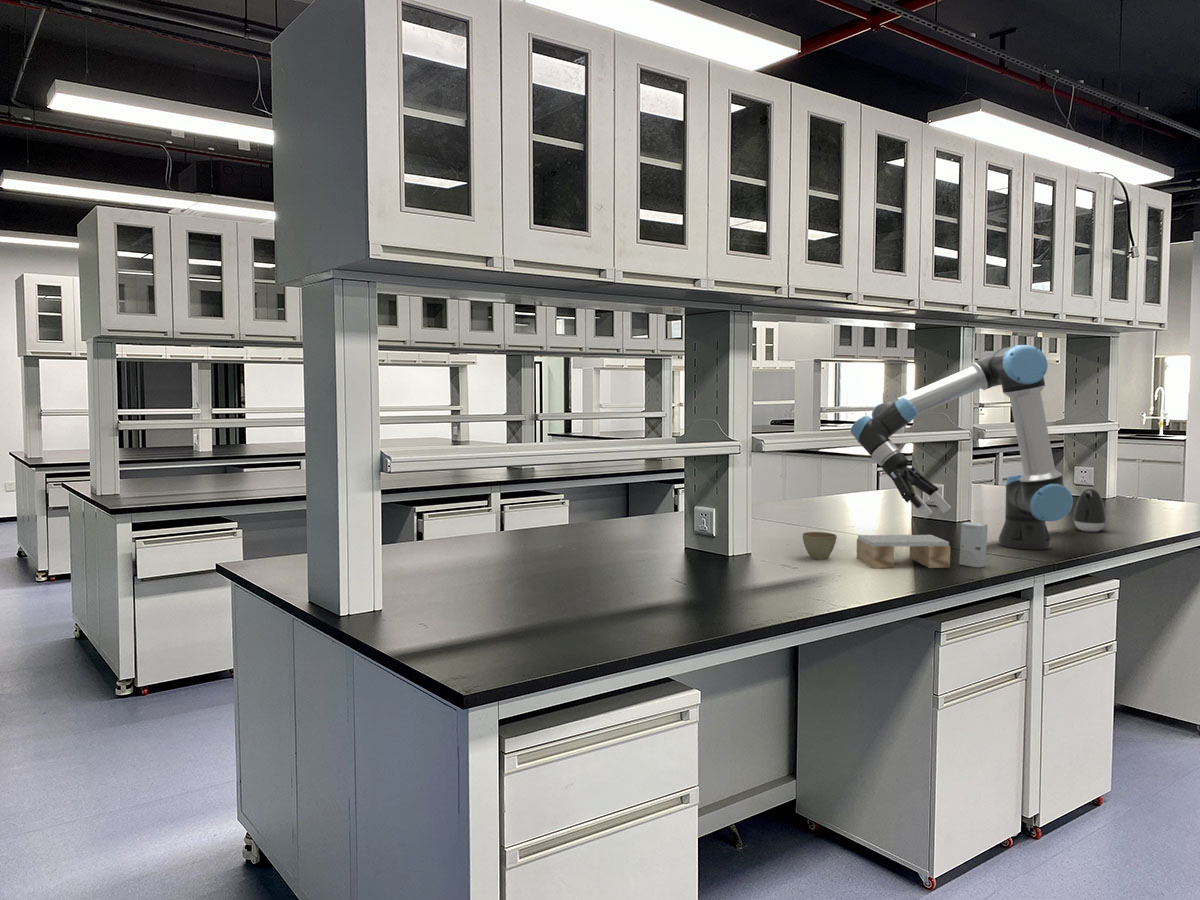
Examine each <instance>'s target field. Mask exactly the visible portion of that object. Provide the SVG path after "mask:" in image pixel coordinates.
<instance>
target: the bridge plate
mask: <svg viewBox="0 0 1200 900" xmlns="http://www.w3.org/2000/svg"><path fill="white" fill-rule="evenodd" d="M857 539H859V540H860V541H862V542H864V543H866V544H868V545H870V546H872V547H877V546H893V547H910V546H950V542H949V541H947V540H945V539H943V538H940V537H937V536H935V535H933V534H888V535H887V534H871V535H870V534H869V535H868V534H862V535H861V534H858V536H857Z"/></svg>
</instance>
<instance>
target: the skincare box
mask: <svg viewBox="0 0 1200 900" xmlns="http://www.w3.org/2000/svg"><path fill="white" fill-rule="evenodd" d="M988 528H989V525H988V524H985V523H980V522H979V523H978V522H969V521H966V522H962V523H961V525H960V542H959V543H960V546H959V562H958V564H959V565H961V566H967V567H972V568H982V567H986V563H987V561H986V560H987V541H988Z"/></svg>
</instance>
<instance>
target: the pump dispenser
mask: <svg viewBox="0 0 1200 900" xmlns="http://www.w3.org/2000/svg"><path fill="white" fill-rule="evenodd" d="M1072 519H1073V522H1074V525H1075V526H1076V529H1078V530H1080V531H1082V532H1088V533H1089V532H1090V533H1096V532H1099V531H1101V530H1102V529H1103V528H1104V527H1105V524H1106V523H1107V515H1106V508H1105V506H1104V501H1103V498H1102V497H1101V494H1100V493H1099V491H1097V489H1094V488H1086V489H1085V490H1083V491H1082V493H1081V494H1080V495H1079V497H1078V499H1077V501H1076V505H1075V508H1074V512H1073V518H1072Z"/></svg>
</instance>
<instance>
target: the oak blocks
mask: <svg viewBox="0 0 1200 900" xmlns="http://www.w3.org/2000/svg"><path fill="white" fill-rule="evenodd" d="M909 559H911V560H913V561H915V562H916V563H919V564H920V565H922V566H925V567H927V568H929V569H935V568H936V569H938V568H939V569H945V568H946V569H950V568H951V546H950V545H949V546H909ZM856 560H858V561H860V562H862V563H863V564H865V565H867V566H868V567H870V568H872V569H895V546H877V547H872V546H870V545H868V544H866V543H864V542H862V541H860V540H859V539H858V538H856Z"/></svg>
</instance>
